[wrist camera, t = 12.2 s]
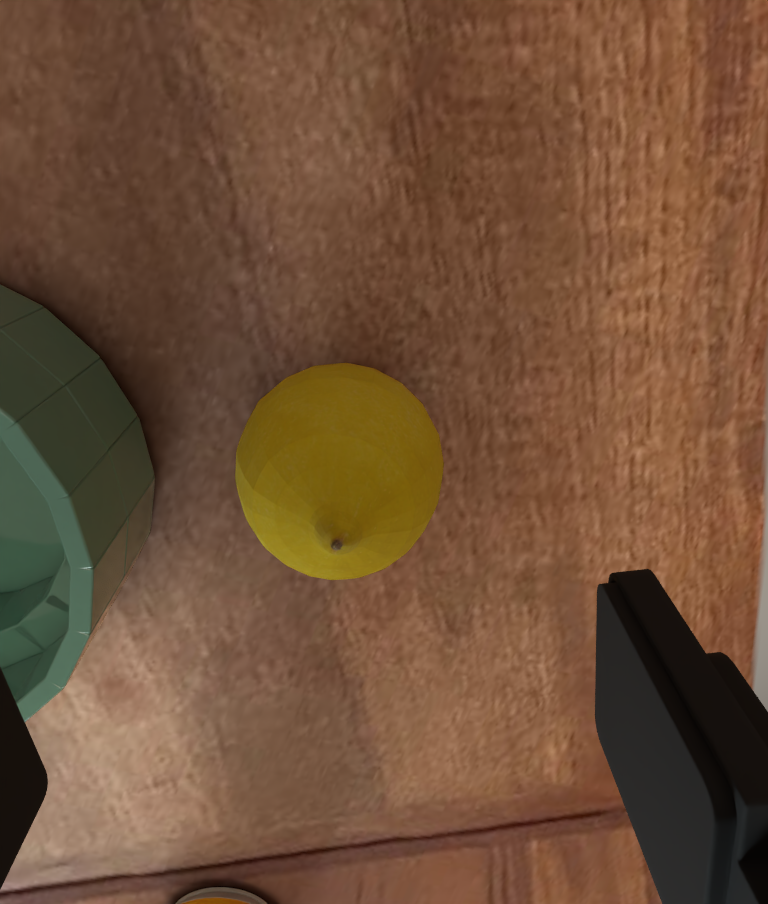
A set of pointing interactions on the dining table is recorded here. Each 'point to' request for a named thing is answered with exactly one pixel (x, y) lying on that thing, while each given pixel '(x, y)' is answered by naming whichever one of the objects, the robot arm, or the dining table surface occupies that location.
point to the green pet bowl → (61, 498)
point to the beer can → (220, 897)
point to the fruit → (339, 471)
